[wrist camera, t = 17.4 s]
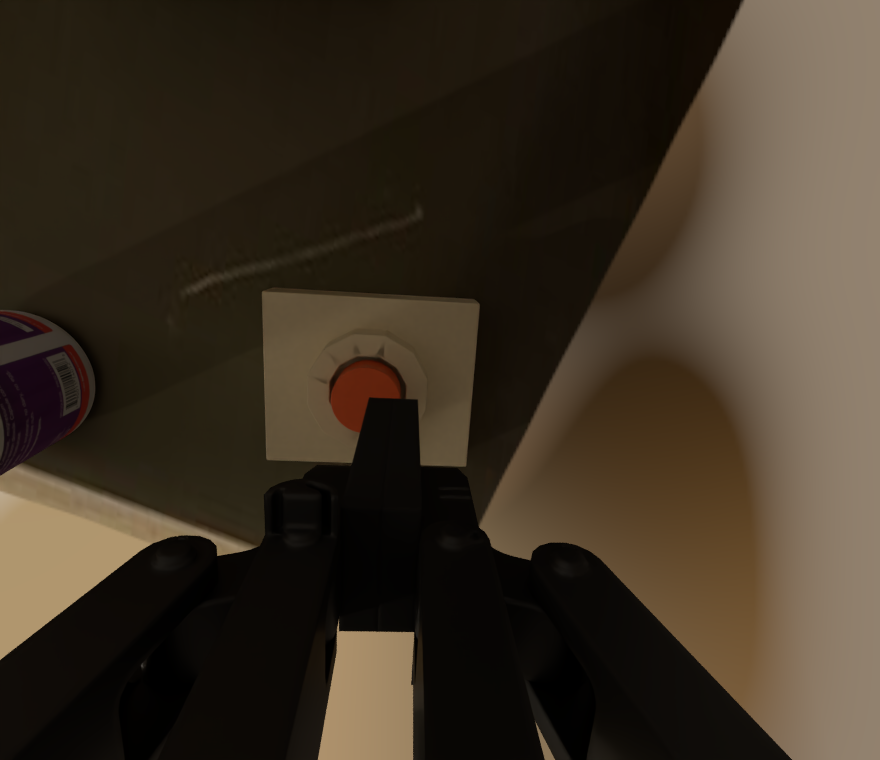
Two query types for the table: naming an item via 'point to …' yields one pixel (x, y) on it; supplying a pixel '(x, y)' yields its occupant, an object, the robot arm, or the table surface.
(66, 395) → the pill bottle
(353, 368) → the button
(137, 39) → the table surface
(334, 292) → the button box
